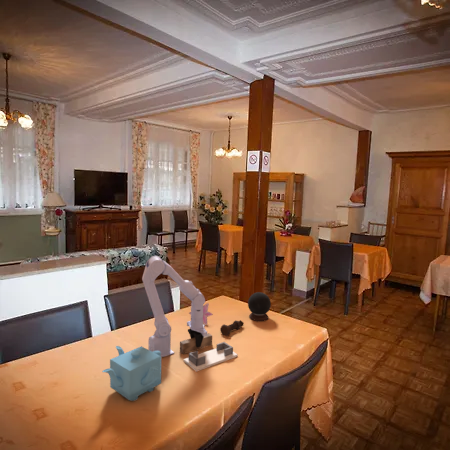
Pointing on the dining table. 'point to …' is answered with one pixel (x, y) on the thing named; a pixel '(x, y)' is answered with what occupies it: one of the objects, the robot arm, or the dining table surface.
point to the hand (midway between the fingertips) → (196, 345)
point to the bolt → (231, 327)
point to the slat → (194, 344)
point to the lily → (205, 313)
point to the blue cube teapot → (135, 372)
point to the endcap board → (210, 357)
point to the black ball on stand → (259, 306)
